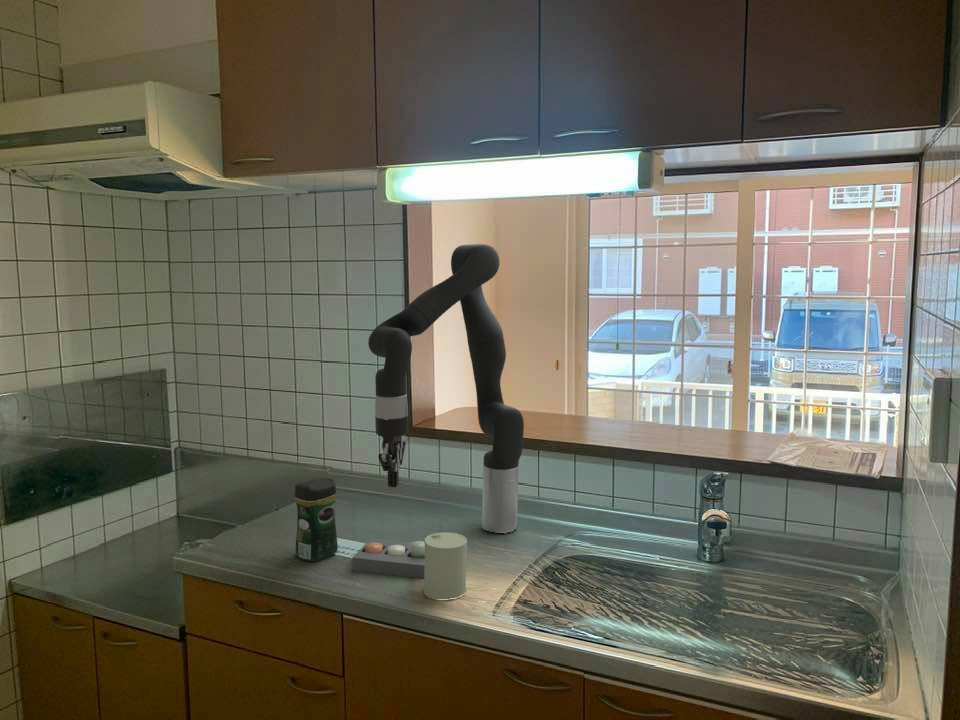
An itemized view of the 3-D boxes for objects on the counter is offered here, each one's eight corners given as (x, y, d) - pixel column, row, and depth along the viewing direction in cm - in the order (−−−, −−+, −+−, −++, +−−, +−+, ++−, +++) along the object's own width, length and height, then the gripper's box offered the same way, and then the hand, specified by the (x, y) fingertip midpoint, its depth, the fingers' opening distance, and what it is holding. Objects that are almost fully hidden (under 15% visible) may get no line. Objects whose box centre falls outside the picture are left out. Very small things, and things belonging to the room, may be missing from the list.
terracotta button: (368, 553, 176) (368, 541, 175) (384, 555, 175) (384, 543, 174) (362, 560, 172) (362, 548, 171) (379, 562, 171) (379, 549, 171)
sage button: (413, 552, 173) (413, 540, 173) (429, 554, 172) (429, 541, 172) (408, 559, 169) (408, 546, 169) (424, 560, 168) (425, 548, 168)
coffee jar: (320, 544, 183) (320, 471, 180) (342, 552, 178) (342, 478, 175) (289, 556, 175) (288, 480, 172) (311, 565, 170) (310, 487, 168)
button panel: (370, 550, 180) (370, 538, 179) (438, 557, 176) (438, 545, 176) (352, 570, 168) (352, 557, 168) (424, 578, 165) (424, 565, 164)
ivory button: (390, 556, 174) (391, 544, 174) (407, 558, 174) (407, 545, 173) (385, 563, 171) (385, 550, 170) (401, 564, 170) (401, 552, 169)
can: (443, 578, 165) (444, 526, 163) (475, 590, 159) (476, 537, 158) (414, 591, 158) (415, 538, 156) (446, 605, 152) (447, 549, 151)
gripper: (385, 407, 177) (387, 476, 180) (365, 419, 164) (368, 494, 167) (415, 408, 175) (417, 478, 178) (398, 421, 163) (399, 496, 165)
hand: (393, 486), depth 172 cm, fingers closed
